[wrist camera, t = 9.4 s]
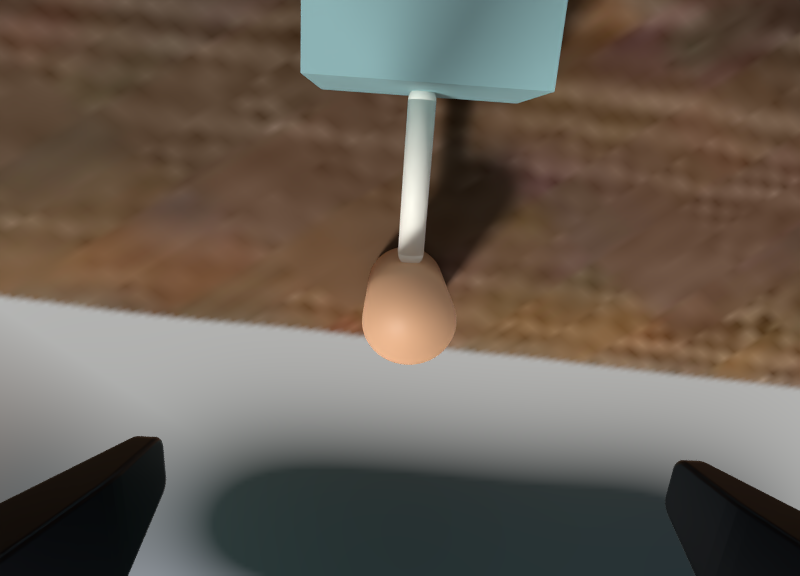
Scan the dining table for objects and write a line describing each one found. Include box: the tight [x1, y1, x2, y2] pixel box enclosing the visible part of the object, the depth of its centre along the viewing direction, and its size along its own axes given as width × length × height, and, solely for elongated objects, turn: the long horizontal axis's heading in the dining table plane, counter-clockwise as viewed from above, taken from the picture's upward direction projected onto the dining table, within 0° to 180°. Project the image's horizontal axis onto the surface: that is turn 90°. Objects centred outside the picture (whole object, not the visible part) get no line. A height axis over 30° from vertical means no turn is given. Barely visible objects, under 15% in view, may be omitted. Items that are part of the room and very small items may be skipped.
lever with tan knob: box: [301, 0, 568, 365], centre depth 16 cm, size 7×12×5 cm, turn 176°
